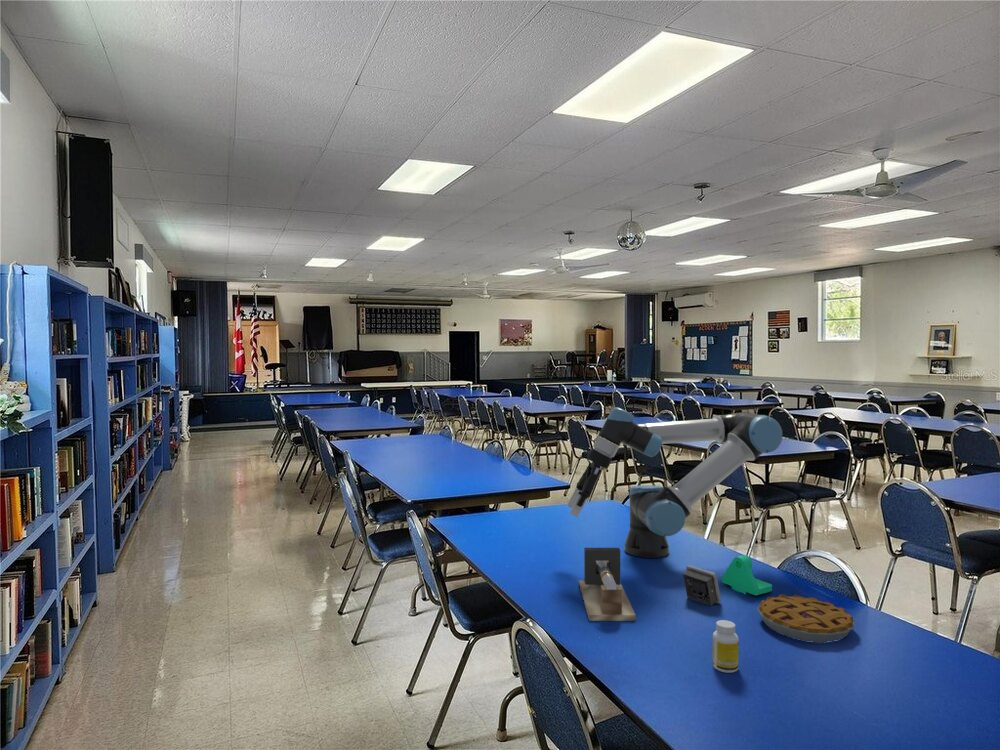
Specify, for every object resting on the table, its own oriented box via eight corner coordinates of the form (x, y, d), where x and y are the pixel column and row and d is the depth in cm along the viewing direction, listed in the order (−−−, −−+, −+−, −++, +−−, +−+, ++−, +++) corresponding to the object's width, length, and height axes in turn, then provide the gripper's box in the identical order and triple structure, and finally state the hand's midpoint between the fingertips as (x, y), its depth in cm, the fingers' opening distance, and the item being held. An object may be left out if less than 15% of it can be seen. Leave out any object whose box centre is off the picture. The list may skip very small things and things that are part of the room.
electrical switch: (721, 603, 173) (720, 571, 172) (711, 610, 170) (709, 577, 169) (692, 593, 181) (690, 562, 180) (681, 600, 177) (679, 568, 177)
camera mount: (773, 594, 180) (773, 558, 180) (755, 599, 177) (755, 563, 176) (739, 581, 191) (739, 547, 190) (721, 585, 187) (722, 551, 187)
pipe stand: (619, 585, 187) (619, 558, 187) (635, 620, 162) (635, 590, 162) (579, 585, 188) (579, 558, 187) (589, 620, 163) (589, 590, 162)
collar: (618, 581, 182) (618, 547, 182) (620, 584, 180) (620, 550, 179) (584, 581, 182) (584, 547, 182) (585, 584, 180) (585, 550, 180)
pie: (739, 617, 164) (739, 599, 164) (799, 604, 173) (800, 586, 173) (809, 654, 144) (810, 633, 144) (874, 637, 153) (875, 616, 153)
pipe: (604, 564, 187) (604, 553, 187) (618, 595, 163) (618, 583, 163) (593, 564, 187) (593, 553, 187) (605, 595, 163) (605, 583, 163)
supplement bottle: (743, 671, 136) (744, 627, 136) (722, 675, 135) (722, 630, 135) (728, 660, 142) (728, 617, 141) (707, 663, 140) (707, 620, 140)
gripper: (588, 444, 215) (559, 499, 215) (596, 450, 190) (564, 512, 190) (607, 454, 215) (578, 509, 215) (618, 462, 190) (586, 524, 190)
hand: (571, 511), depth 202 cm, fingers open, 13 cm apart
